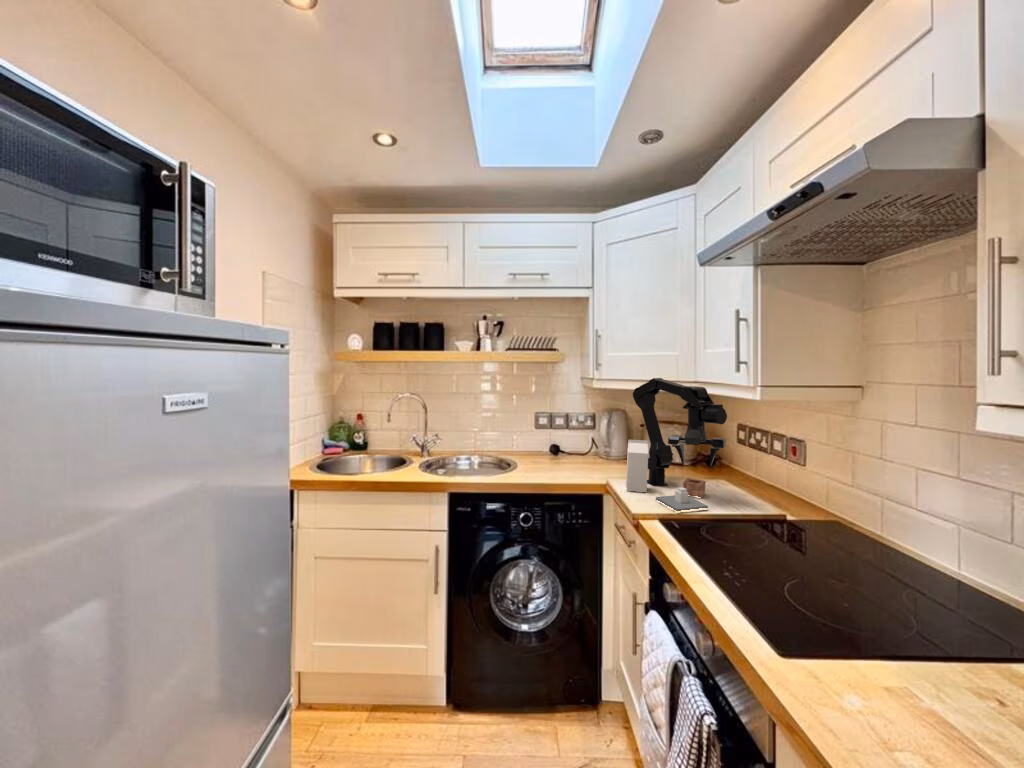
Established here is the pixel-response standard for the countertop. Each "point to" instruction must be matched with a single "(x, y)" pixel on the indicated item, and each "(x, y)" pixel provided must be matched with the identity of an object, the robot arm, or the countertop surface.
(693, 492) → the collar
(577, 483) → the countertop surface
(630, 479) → the milk carton
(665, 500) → the key base
